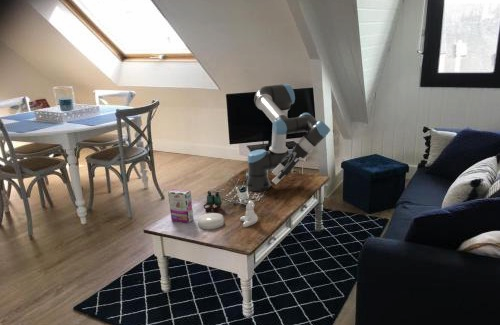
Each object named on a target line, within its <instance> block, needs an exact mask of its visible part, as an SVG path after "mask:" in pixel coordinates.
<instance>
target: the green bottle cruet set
mask: <svg viewBox="0 0 500 325" xmlns="http://www.w3.org/2000/svg"><path fill="white" fill-rule="evenodd" d="M222 204H223V202H222V199H221V195H220V192H219V191H216V192H215V193H214V194H212V191H210V190H208V191H207V195H206V202H205V204H204V205H203V209H204V210H205V212H206V213H219V212H220V210H221V209H222ZM214 206H216V207H214ZM212 211H213V212H212Z"/></svg>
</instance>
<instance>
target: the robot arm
mask: <svg viewBox="0 0 500 325" xmlns="http://www.w3.org/2000/svg"><path fill="white" fill-rule="evenodd" d="M295 100H296V96H295V91H294V89H293V87H292V86H291V85H290V84H287V83H286V84H285V83H284V84H283V83H282V84H274V85H264V86H262V87H260V88H259V89H258V90H256V92H255V94H254V98H253V101H254V104H255V107H257V109H259V110H260V111H262V112H263V113H264V114H265V116H266V117H267V118H268V119H269V120H270V121H271V123H272V130H271V132H272V133H271V145H270V146H269V147H268V148H269V149H268V151H267V150H266V149H263V148H262V149H254V150H252V151H250V152H248V154H247V167H248V168H247V169H248V170H247V172H248V177H247V181H246V184H245V185H246V186H245V187H247V186H248V189H249V191H252V192H263V191H267V190H268V189H269V190H270V188H271V182H272V183H274V184H275V185H277V184H279V182H281V180H282V179H283V178H284V177H286V176H288V175H289V174H290V172H291V171H292V169H294V167H295V166H296V165H297V163H299V162H300V159H299V158H301V159H305V158H306V157H307V156H308V155H309V153H311V152H312V150H313V151H314V150H315V148H316V147H317V146H318V144H319V143H321V141H322V140H324V139H325V138H326V137H327V135H328V134H330V132H331V128H330V127H329V126H328V125H327V124H326V123H325V122H324V121H323V120H321V119H319V120H318V121H317V120H316V118H315V117H314V116H313V115H312V114H311V113H310V112H303V113H302V114H300V115H299V116H297V117H290V118H289V117H288V111H289V110H290V109H291V105H294V104H295ZM304 132H305V134H304V135H303V136H302V137H301V138H300V139H299V141H298V143H297V142H296V143H295V144H294V146H293V147H292V151H290V150H289V148H288V147H287V146H286V142H287V141H286V140H287V135H288V134H296V133H304ZM270 170H272V171H271V173H272V174H273V175H274V176H275V177H274V178H273V179H271V182H270V179H269V175H268V171H270ZM248 189H247V190H248Z"/></svg>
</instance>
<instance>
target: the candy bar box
mask: <svg viewBox="0 0 500 325" xmlns="http://www.w3.org/2000/svg"><path fill="white" fill-rule="evenodd" d="M191 193H192V192H191V191H190V190H183V189H171V190H170V191H168V193H167V194H168V202H169V210H170V219H171V222H177V223H178V222H179V223H185V224H190V223H191V222H192V221H194V214H193V213H194V212H193V211H194V210H193V203H192V194H191Z"/></svg>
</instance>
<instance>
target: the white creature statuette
mask: <svg viewBox="0 0 500 325" xmlns="http://www.w3.org/2000/svg"><path fill="white" fill-rule="evenodd" d="M245 206H246V207H245V209H246V210H245V215H244V216H243V215H242V216H241V217H240V218H239V221H240V222H243V223H242V226H243V228H247V227H250V226H252V225H254V224H256V223H257V222H258V219H259V218H258V215H257V214H256V212H255V210H254V208H255V203H254V201H253V200H248V203H247V204H246V205H245Z"/></svg>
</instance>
